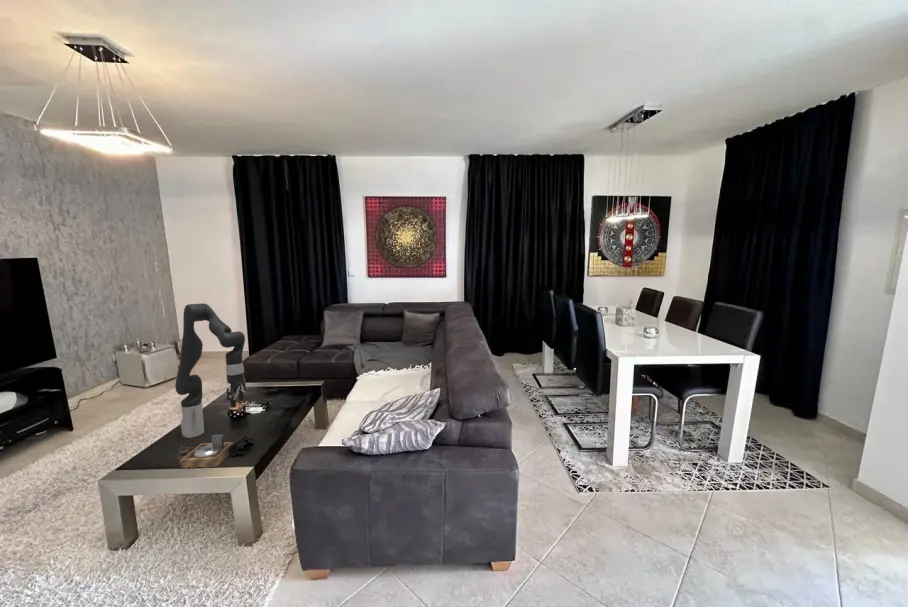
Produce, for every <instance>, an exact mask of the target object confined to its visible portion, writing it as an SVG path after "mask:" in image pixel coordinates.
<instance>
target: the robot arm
mask: <svg viewBox="0 0 908 607" xmlns="http://www.w3.org/2000/svg"><path fill="white" fill-rule="evenodd" d="M184 306H185V307H184V309H183V316H182V317H183V319H182V320H183V329H182V331H183V332H182V340H181V345H180V346H181V348H180V355H179V356H180V358H179V366H178V370H177V375H176V378H175V379H176V380H175V383H174V384H175V391H176V393H177V394H178V395H180V396H185V395H186V397H185V398H183V399H181V402H180V406H181V419H180V427H181V428H180V429H181V432H182V433H183V438H186V439H188V438H189V439H190V438H195V437H199V436H201V435H202V434H204V433H205V427H204V426H205V425H204V416H203V415H204V413H203V404H202V400H203V381H202V378H201V376H200V375H198V374H191V372H192V371H193V369H194V367H195V366H196V364H197V363H198V362H199V360H200V358H201V357H202V353H203V345H204V344H203V341H202V339H201V338H200V336H199V335H198V334H197V332H196V330H195V322H204V321H207V322H208V329H209V331H210V332H211V334H213V336H215V337H216V338H217V340H218V342H219V344H220V345H221V347H223V348H226V349H228V348H233V349H231V350H230V351H228V352H226V353H225V374H226V382H227V383H228V384H229V387H226V400H227V401H229V403H230V407H231V408H236V407H237V401H236V400H237V396H238V400H239V402H243V401H245V391H247V386H246V379H245V368H244V367H245V366H244V364H243V362H244V361H243V352H244V351H243V350H244V347H245V343H246V335H245V334H244V332H242V331H237V330H236V331H233V332H232V329H231V327H230V326H228V325H227V324H226V323H225V322H223V321H222V320H221V319H220V317H219V316H218V315H217V313H216V312H215V311H214V310H213V308H212V307H211V306H210V305H209V304H208V303H203V302H202V303H189V304H186V305H184Z"/></svg>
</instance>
